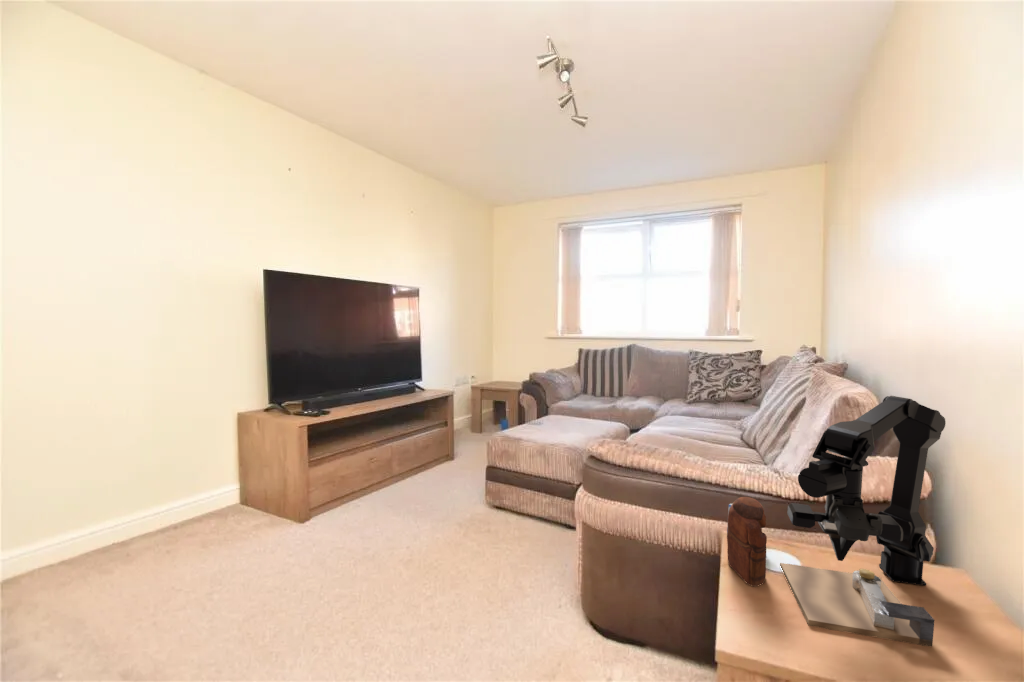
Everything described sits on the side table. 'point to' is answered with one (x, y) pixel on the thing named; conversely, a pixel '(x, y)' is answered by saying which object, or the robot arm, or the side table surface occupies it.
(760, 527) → the brown wooden carving
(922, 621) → the keeper
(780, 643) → the side table surface
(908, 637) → the board
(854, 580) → the link
